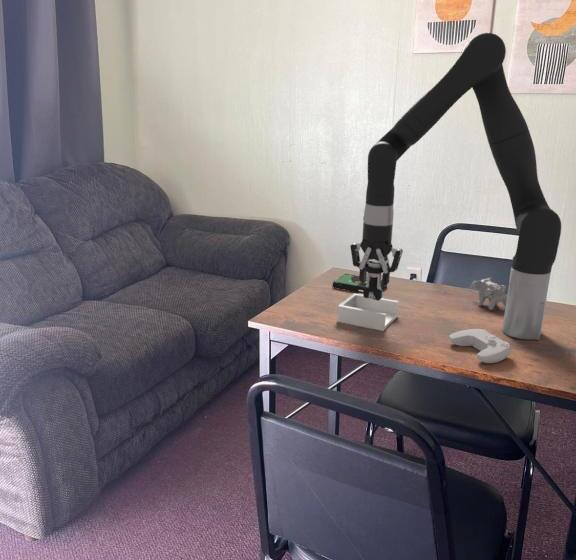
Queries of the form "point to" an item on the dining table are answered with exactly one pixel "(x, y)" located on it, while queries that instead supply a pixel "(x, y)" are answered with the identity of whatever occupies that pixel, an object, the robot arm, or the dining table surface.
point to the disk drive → (351, 283)
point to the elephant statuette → (489, 292)
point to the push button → (373, 281)
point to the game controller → (482, 344)
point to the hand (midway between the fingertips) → (373, 283)
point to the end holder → (367, 312)
